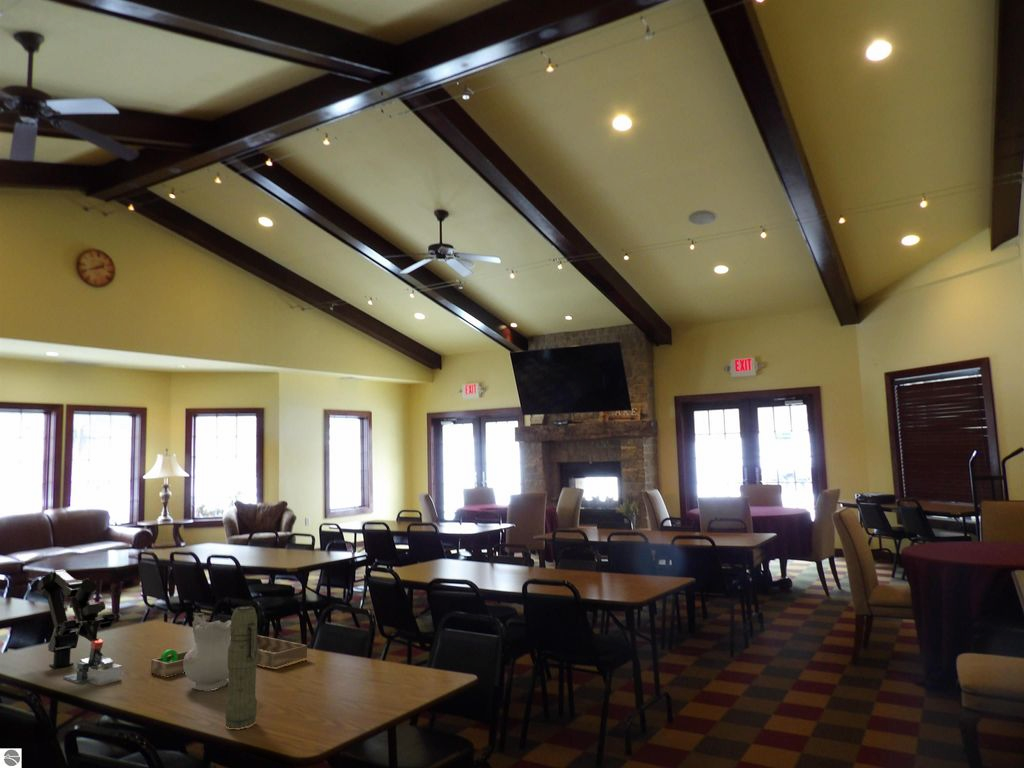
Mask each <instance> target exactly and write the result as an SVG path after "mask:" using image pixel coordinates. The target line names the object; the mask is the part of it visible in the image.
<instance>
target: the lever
mask: <svg viewBox="0 0 1024 768" xmlns="http://www.w3.org/2000/svg"><path fill="white" fill-rule="evenodd" d="M103 644H104V641H103V639H101V638H97V639H94V640H92V642H90V651H89V652H90V653H89V656H88V657H86V658H81V659H80V660H79V662H85V663H88V669H89V667H94V666H98V665H101V666H102V667H103V668H107V667H111V666H113V663H114V661H113V659H111V657H106V656H105V655H104V654H103V653H102V652H101V650H102V649H103ZM98 660H99V661H100V664H99V663H98ZM88 669H87V672H88Z"/></svg>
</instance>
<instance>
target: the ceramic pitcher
mask: <svg viewBox="0 0 1024 768" xmlns="http://www.w3.org/2000/svg"><path fill="white" fill-rule="evenodd" d="M194 616H195V617H194V619H193V622H192V624H193V625H192V633H193V639H194V642H195V645H194V646H193V648H191V649H190V650H188V651H189V652H188V653H187V654H186V655H185V657H184V660H183V667H184V672H185V673H184V674H185V676H186V677H187V678H188V679H189V681H191V682H192V683H195V684H194V685H193V687H194V690H197V691H201V690H211V689H215V688H219V687H221V688H223V687H225V686H227V685H228V684H227V683H228V682H229V669H228V666H227V664H228V648H229V645H230V639H231V619H230V620H227V621H225V622H223V621H221V620H215V621H212V622H210V621H209V622H207V621H206V620H205V616H204V612H203V613H202V612H201V613H200V612H196V613H195V614H194ZM226 684H227V685H226ZM222 686H223V687H222Z"/></svg>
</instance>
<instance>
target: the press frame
mask: <svg viewBox="0 0 1024 768" xmlns="http://www.w3.org/2000/svg"><path fill="white" fill-rule="evenodd" d="M98 663H99V664H100V661H99V660H98ZM76 664H77V666H76V670H75V673H73V674H67V675H64V676H62V679H63V678H65V679H64V680H66V679H68V680H70V681H69V682H71V681H73V682H72V683H74V682H76V683H75V684H77V683H78V684H77V685H80V684H85V683H89V682H88V672H87V669H88V663H85V662H80V661H79V662H77V663H76ZM68 680H67V681H68Z"/></svg>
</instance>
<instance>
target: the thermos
mask: <svg viewBox="0 0 1024 768" xmlns="http://www.w3.org/2000/svg"><path fill="white" fill-rule="evenodd" d="M230 618H231V619H230V620H231V634H230V645H229V648H228V664H227V666H228V669H229V678H228V684H227V689H228V691H227V700H226V702H225V715H224V716H225V727H226V726H227V727H229V728H241V727H245V726H249V725H251V724H253V723H254V722H255V721H256V717H257V711H258V710H257V709H258V707H257V705H258V704H257V703H258V701H257V700H258V699H257V697H256V685H257V684H256V683H257V679H256V678H257V667H258V666H257V664H258V644H257V635H258V614H257V612H256V608H255V607H253V606H252V605H242V606H238V607H236V608H234V610H233V612H232V615H231V617H230Z"/></svg>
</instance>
